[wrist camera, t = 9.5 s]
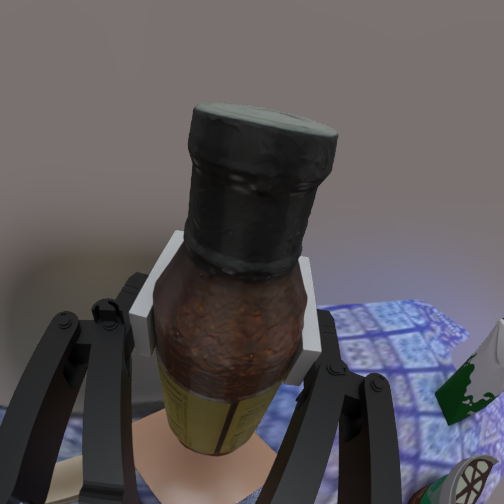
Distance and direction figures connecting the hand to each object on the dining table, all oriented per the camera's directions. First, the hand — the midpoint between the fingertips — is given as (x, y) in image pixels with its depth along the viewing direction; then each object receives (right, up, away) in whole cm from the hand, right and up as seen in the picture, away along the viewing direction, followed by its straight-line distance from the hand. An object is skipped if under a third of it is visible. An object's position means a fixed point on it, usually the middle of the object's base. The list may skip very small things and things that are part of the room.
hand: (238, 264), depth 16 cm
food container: (+23, -32, +4) cm, 40 cm away
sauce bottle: (-2, -12, +2) cm, 12 cm away
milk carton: (+36, -26, +18) cm, 48 cm away
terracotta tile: (-5, -22, +9) cm, 24 cm away
